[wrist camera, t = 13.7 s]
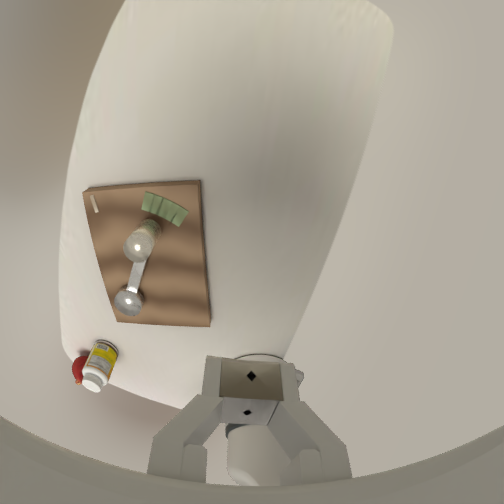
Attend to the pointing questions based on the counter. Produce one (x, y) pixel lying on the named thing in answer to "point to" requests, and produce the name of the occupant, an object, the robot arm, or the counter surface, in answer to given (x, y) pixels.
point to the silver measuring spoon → (137, 265)
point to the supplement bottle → (99, 365)
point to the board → (163, 254)
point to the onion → (79, 368)
